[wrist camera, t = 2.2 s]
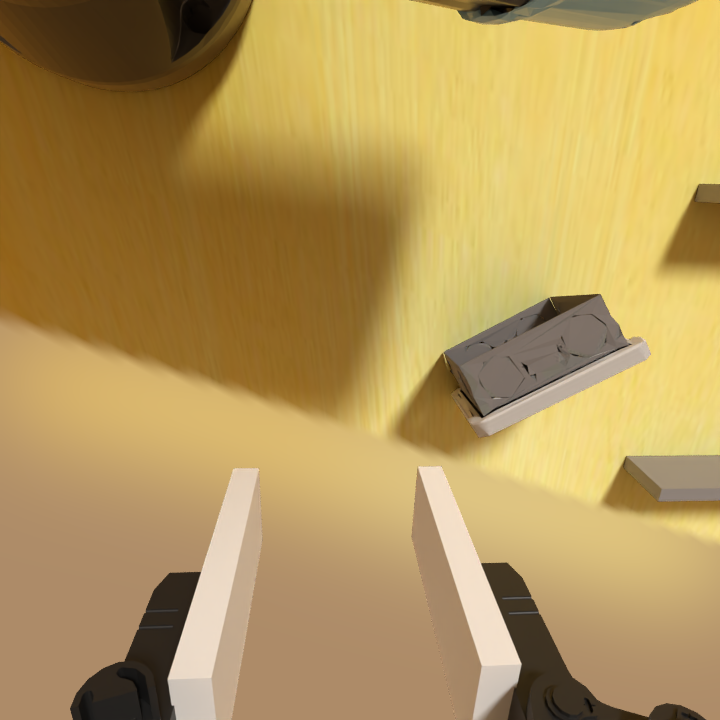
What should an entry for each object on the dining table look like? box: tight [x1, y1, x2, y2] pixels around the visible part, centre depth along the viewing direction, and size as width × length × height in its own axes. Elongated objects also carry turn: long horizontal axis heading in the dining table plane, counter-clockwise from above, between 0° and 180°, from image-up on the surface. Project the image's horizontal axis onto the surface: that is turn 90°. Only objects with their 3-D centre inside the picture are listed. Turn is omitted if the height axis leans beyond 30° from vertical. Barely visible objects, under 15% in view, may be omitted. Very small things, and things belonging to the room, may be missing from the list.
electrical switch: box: [444, 294, 651, 437], centre depth 27 cm, size 9×5×9 cm, turn 118°
